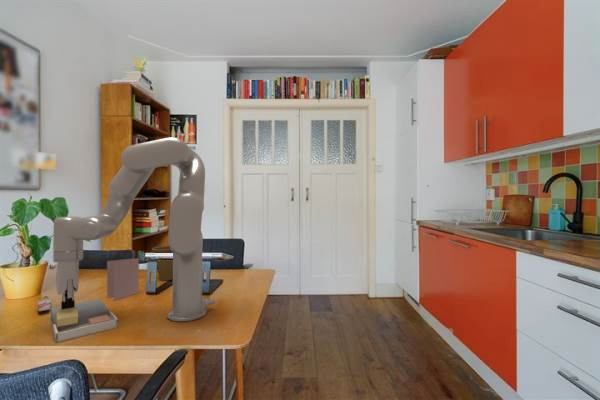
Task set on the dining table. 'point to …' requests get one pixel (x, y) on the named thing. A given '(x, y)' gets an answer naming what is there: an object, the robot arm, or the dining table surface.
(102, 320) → the salmon pink block
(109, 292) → the greeting card
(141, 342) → the dining table surface
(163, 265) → the plant pot
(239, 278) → the dining table surface
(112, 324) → the tray
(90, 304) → the slate board
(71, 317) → the tile mustard
